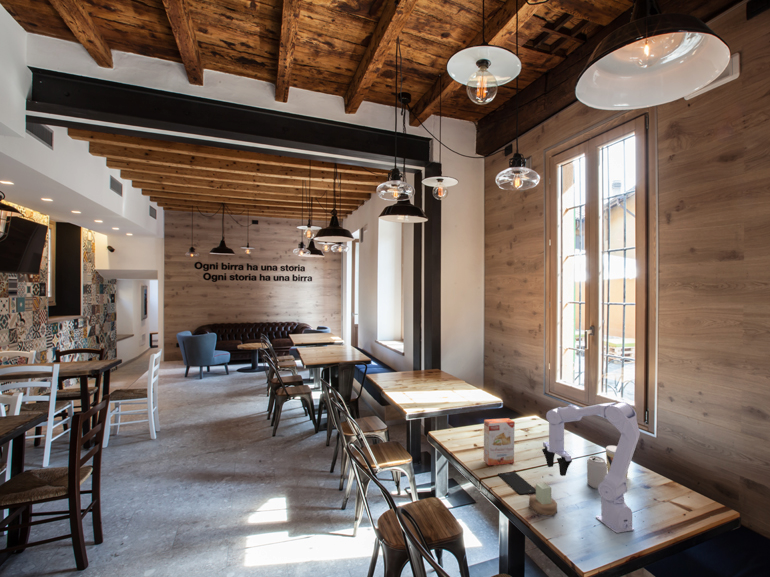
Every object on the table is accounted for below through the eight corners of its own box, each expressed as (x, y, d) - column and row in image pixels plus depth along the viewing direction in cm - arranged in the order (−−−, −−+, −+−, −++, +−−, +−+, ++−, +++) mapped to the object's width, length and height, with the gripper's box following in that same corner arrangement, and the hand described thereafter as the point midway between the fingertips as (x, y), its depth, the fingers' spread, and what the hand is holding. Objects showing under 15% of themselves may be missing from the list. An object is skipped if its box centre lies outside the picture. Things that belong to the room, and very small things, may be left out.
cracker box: (488, 466, 178) (489, 423, 179) (483, 460, 184) (483, 419, 185) (514, 463, 181) (515, 421, 182) (508, 458, 187) (508, 417, 188)
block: (551, 503, 143) (551, 487, 143) (542, 504, 142) (542, 488, 142) (544, 497, 146) (544, 482, 147) (535, 498, 146) (535, 483, 146)
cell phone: (514, 473, 172) (514, 471, 172) (538, 493, 155) (538, 491, 155) (497, 475, 170) (497, 473, 170) (520, 496, 153) (520, 493, 153)
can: (590, 479, 166) (590, 453, 166) (609, 486, 161) (609, 458, 161) (584, 485, 161) (584, 458, 161) (604, 492, 155) (604, 464, 156)
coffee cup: (603, 475, 170) (603, 449, 170) (608, 468, 177) (608, 443, 177) (627, 482, 164) (627, 455, 164) (631, 475, 171) (631, 449, 171)
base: (562, 513, 140) (562, 506, 140) (540, 516, 138) (540, 510, 138) (545, 499, 150) (545, 492, 150) (524, 502, 148) (524, 495, 148)
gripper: (537, 432, 159) (537, 463, 159) (560, 446, 145) (560, 480, 145) (551, 431, 161) (551, 462, 160) (575, 444, 146) (575, 478, 146)
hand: (556, 470), depth 153 cm, fingers open, 7 cm apart
